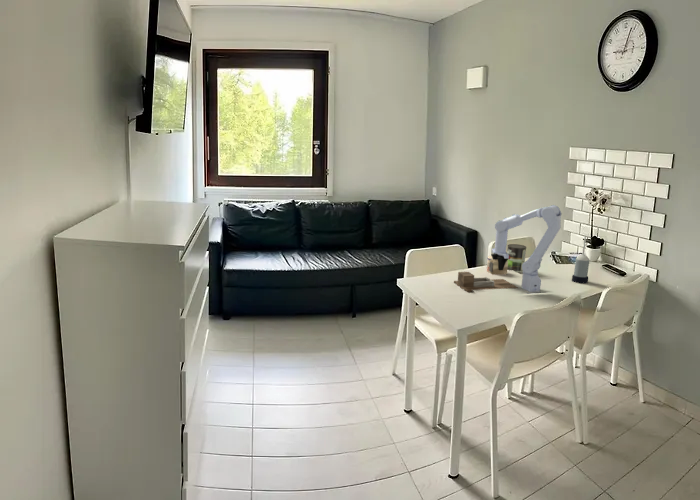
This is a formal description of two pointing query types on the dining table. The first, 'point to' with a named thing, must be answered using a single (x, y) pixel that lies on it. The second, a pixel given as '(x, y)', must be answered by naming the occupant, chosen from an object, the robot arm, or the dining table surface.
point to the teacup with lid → (489, 262)
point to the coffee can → (516, 257)
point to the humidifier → (581, 268)
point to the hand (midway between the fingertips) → (498, 268)
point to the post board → (480, 282)
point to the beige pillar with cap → (494, 267)
